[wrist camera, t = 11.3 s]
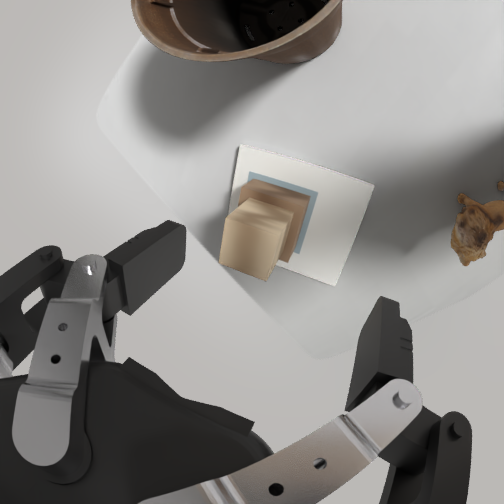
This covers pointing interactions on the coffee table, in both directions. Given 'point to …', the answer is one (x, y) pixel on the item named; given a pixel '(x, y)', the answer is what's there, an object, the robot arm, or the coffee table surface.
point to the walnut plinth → (283, 200)
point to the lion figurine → (476, 227)
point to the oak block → (255, 237)
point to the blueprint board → (310, 208)
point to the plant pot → (239, 28)
